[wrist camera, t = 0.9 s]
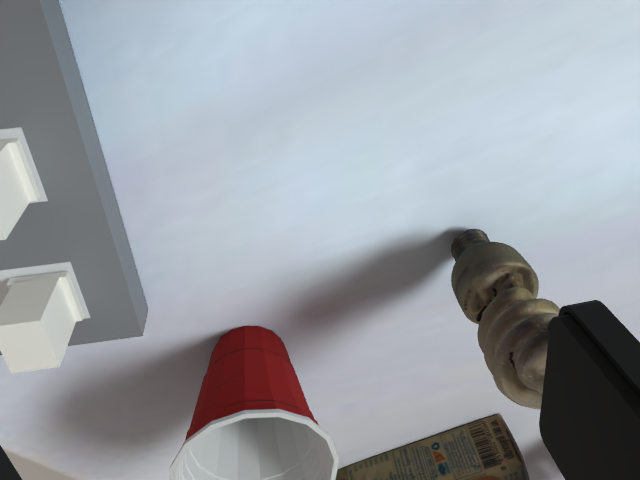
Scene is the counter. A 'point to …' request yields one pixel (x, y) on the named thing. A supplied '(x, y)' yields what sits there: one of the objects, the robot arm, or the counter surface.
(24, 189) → the block
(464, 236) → the light bulb
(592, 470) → the robot arm
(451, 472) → the beverage carton
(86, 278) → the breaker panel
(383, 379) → the counter surface
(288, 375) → the plastic cup
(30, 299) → the block
